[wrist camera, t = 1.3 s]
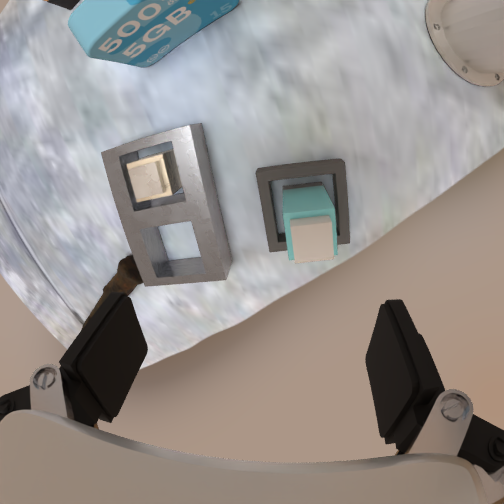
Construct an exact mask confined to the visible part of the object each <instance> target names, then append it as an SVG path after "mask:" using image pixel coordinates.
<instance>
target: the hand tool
mask: <svg viewBox="0 0 504 504" xmlns="http://www.w3.org/2000/svg"><path fill="white" fill-rule="evenodd" d="M141 283H143V280H142V278H141V275H140V272H139V270H138V267H137V265H136V262H135V259H134V257H133V256H130V255H129V256H127V257H126V258H124V259H122V260H121V261H120V262H119V264H118V269H117V274H116V275H115V276H114V277H113V278H112V279H111V280H110V281H109V283H108V284H107V285H106V286H105V287H104V288H103V295H102V296H101V298H100V299H99V301H98V302H97V304H96V306H95V307H94V309H93V310H92V312H91V313H90V315H89V317H88V318H87V319H86V321H85V323H84V325H83V328H84V326H85V325H86V324H87V322H88V321H89V320H90V319H91V317H92V316H93V315H94V313H95V312H96V311H97V309H98V308H99V307H100V306H101V304H102V303H103V302H104V301H105V299H106V298H107V297H108V296H109V294H110V293H111V292H120V293H126V294H127V296H128V295H129V294H130V293H131V292H132V291H133V290H134V288H135V287H136V285H137V284H141ZM83 328H82V329H83Z"/></svg>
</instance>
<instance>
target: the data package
mask: <svg viewBox="0 0 504 504" xmlns="http://www.w3.org/2000/svg"><path fill="white" fill-rule="evenodd" d="M238 2H239V0H84V1H83V2H82V3H81V4H80V5H79V6H78V7H77V8H76V9H75V10H74V12H73V13H72V14H71V16H70V18H69V20H68V26H69V28H70V30H71V31H72V33H73V34H74V36H75V37H76V39H77V41H78V42H79V44H80V45H81V47H82V48H83V50H84V51H85V53H86V54H87V56H88V57H90V58H96V59H102V60H108V61H113V62H119V63H124V64H128V65H133V66H138V67H147V66H150V65H152V64H154V63H155V62H157V61H158V60H160V59H161V58H162V57H163V56H165V55H166V54H167V53H169V52H170V51H171V50H173V49H174V48H175V47H177V46H178V45H179V44H181V43H182V42H183V41H185V40H186V39H188V38H189V37H190V36H192V35H193V34H195V33H196V32H198V31H199V30H201V29H202V28H204V27H205V26H207V25H208V24H210V23H212V22H213V21H215V20H216V19H218V18H220V17H221V16H223V15H225V14H226V13H228V12H230V11H231V10H232V9H234V8H235V7H236V6H237V4H238Z"/></svg>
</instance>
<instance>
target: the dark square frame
mask: <svg viewBox="0 0 504 504" xmlns="http://www.w3.org/2000/svg"><path fill="white" fill-rule="evenodd" d="M324 174H332V175H333V185H334V196H335V209H336V223H337V227H336V233H337V245H339V244H348V243H350V231H349V211H348V195H347V182H346V171H345V162H344V161H343V160H341V159H330V160H320V161H310V162H302V163H293V164H285V165H278V166H271V167H264V168H258V169H257V171H256V177H257V183H258V188H259V194H260V200H261V205H262V211H263V217H264V223H265V228H266V234H267V240H268V246H269V252H277V251H286V250H288V249H287V242H286V235H285V233H282V234H278V229H277V223H276V217H275V210H274V204H273V198H272V192H271V186H270V181H273V180H281V179H289V178H297V177H305V176H314V175H324Z"/></svg>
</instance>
